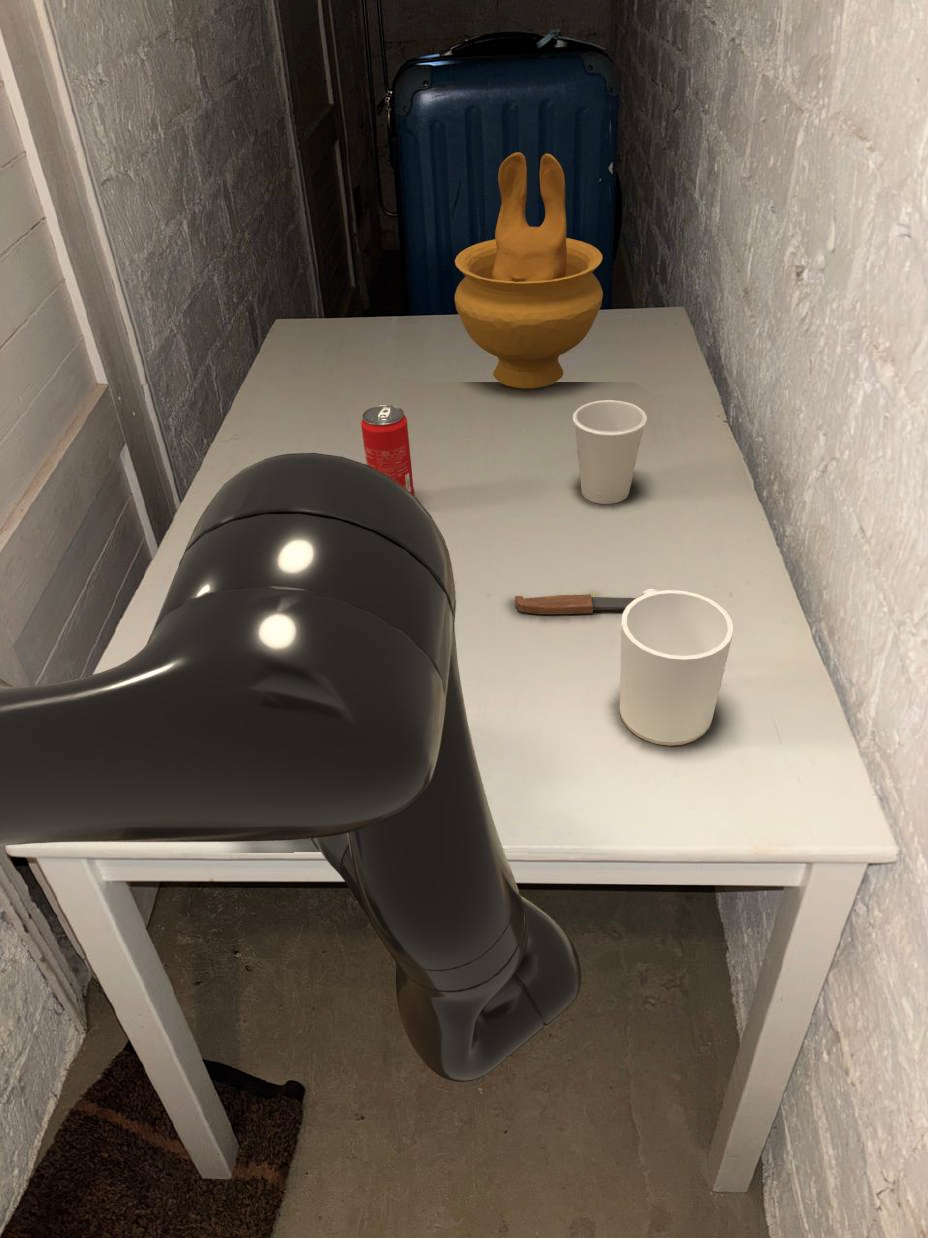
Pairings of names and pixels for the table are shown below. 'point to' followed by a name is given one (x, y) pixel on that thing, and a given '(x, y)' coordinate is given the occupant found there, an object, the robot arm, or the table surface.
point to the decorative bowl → (529, 282)
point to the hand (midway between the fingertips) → (259, 671)
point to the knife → (569, 604)
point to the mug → (672, 664)
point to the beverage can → (388, 443)
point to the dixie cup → (607, 448)
